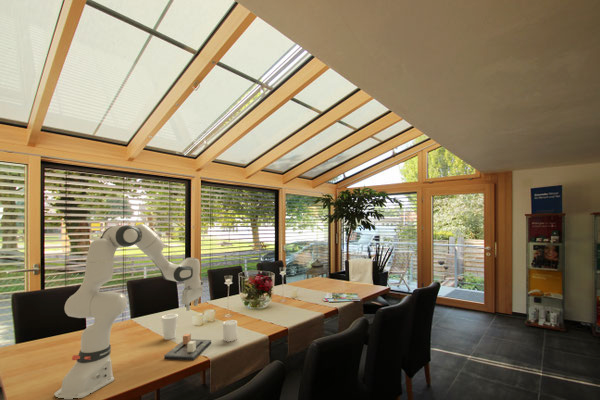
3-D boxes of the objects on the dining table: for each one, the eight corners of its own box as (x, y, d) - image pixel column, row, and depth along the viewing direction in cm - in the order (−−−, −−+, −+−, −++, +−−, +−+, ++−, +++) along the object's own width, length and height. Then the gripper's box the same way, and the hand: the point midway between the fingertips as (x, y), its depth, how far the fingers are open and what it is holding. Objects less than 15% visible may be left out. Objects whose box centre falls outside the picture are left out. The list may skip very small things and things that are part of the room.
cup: (224, 342, 179) (224, 325, 180) (221, 336, 190) (221, 319, 191) (238, 340, 182) (238, 323, 183) (234, 333, 193) (234, 317, 194)
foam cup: (157, 339, 186) (158, 317, 187) (168, 334, 195) (168, 313, 196) (170, 341, 183) (171, 319, 184) (181, 335, 192) (181, 314, 193)
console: (193, 360, 157) (193, 356, 157) (164, 359, 159) (164, 355, 159) (211, 343, 178) (211, 339, 179) (185, 342, 180) (185, 339, 181)
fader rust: (187, 345, 172) (187, 336, 173) (182, 345, 173) (182, 336, 173) (190, 343, 176) (190, 333, 176) (185, 343, 176) (185, 333, 176)
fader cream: (192, 353, 161) (192, 343, 162) (187, 353, 162) (187, 343, 162) (195, 351, 165) (195, 341, 165) (190, 350, 165) (190, 340, 165)
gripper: (188, 288, 173) (188, 313, 172) (204, 281, 193) (204, 303, 192) (178, 288, 173) (178, 313, 172) (195, 281, 194) (195, 303, 193)
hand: (192, 307), depth 182 cm, fingers open, 8 cm apart
